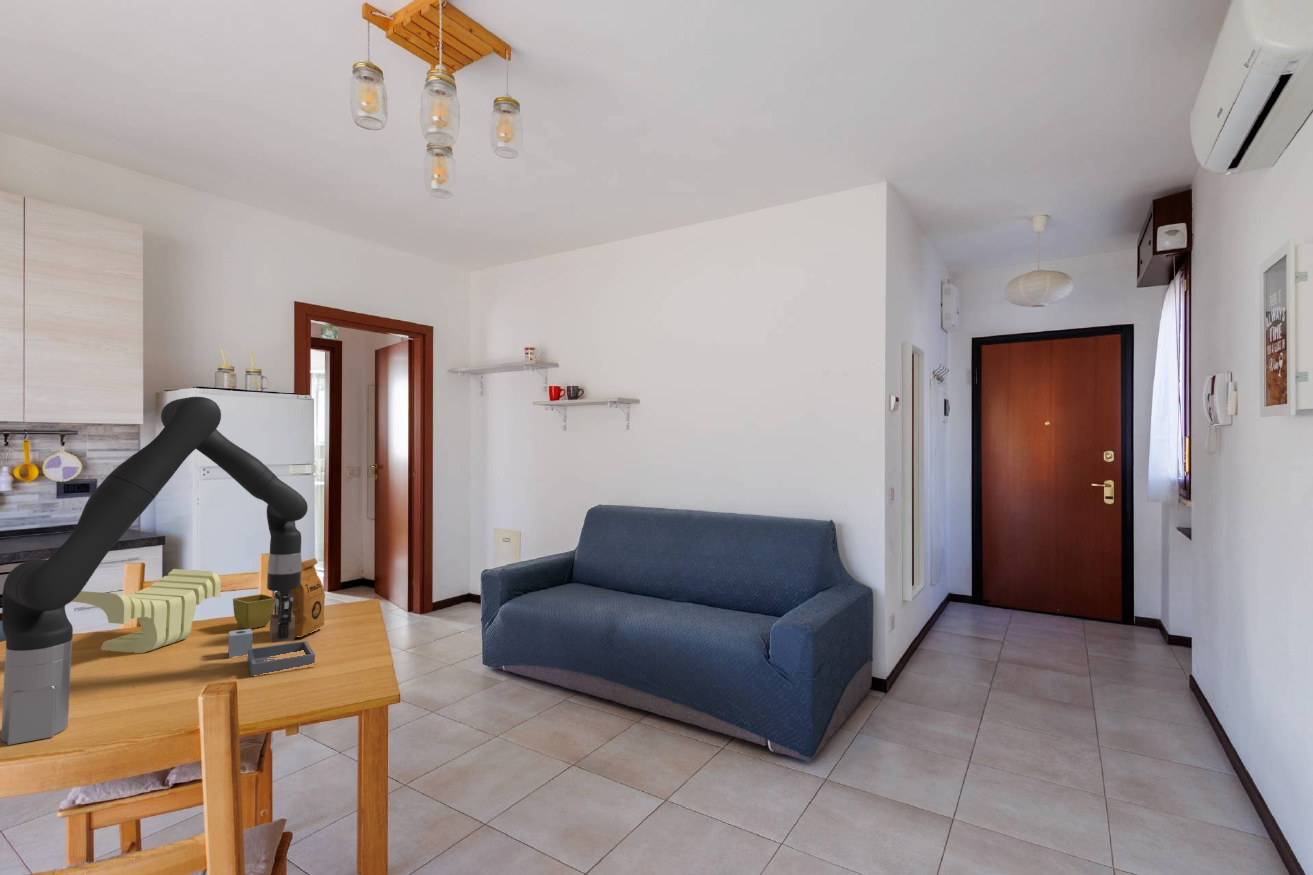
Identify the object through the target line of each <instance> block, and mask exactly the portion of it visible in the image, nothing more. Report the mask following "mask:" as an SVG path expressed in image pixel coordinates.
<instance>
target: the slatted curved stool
mask: <svg viewBox="0 0 1313 875" xmlns="http://www.w3.org/2000/svg"><path fill="white" fill-rule="evenodd" d="M221 588H222V585H221V578H220V577H219V575H218V574H217V573H216V572H214V571H210V570H199V569H198V570H197V569H183V568H182V569H181V568H180V569H179V568H178V569H177V568H173V569H172V570H170V571H169V572H168V574H167V575H164V576H162V577H161V578H160V579H158V581H155V582H154V583H152V584H151V585H150V586H146V587H145V588H143V589H141V590H138V591H136V592H135V591H134V593H129V594H126V595H123V594H120V593H119V594H118V593H114V592H112V593H111V592H99V591H98V592H97V591H84V590H82V591H81V592H80V593H79V594H78V596H77V597H76V598H75V599H73V600H72V601H71V602H70V603H72V602H73V603H80V604H87V605H92V606H94V607H96V608H97V607H98V608H99V609H101V610H103V612H104V613H105V615H106V617H107V620H108V621H107V622H108V624H121V625H125V624H126V623H128V622H130V621H131V620H132V619H133V620H135V619H137V621H138V623H139V624H140V626H141V628H142V630H138V631H134V632H133V633H128V634H125V635H122V636H118V637H116V638H112V639H108V640H105V641H103V643H102V645H101V647H100V649H102V650H101V651H109V650H110V651H111V652H122V653H123V652H124V653H132V652H134V653H135V654H136V653H137V654H143V653H147V652H150V651H153V650H156V649H158V648H159V649H160V648H162V647H165V646H168V645H170V644H173V643H176V642H180V641H182V640H185V639H188V638H189V637H190V635H191V632H192V625H193V622H194V616H195V613H196V611H197V606H200V604H201V603H202V602H204V601H205V599H211V598H214V597H215V598H216V597H217V598H221ZM100 649H99V650H100Z"/></svg>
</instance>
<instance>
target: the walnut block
mask: <svg viewBox="0 0 1313 875" xmlns="http://www.w3.org/2000/svg"><path fill="white" fill-rule="evenodd" d="M284 618H287V615H283V616H282V619H284ZM278 628H279V625H278V616H277V615H276V614H274V613H273V615H271V616H270V621H269V640H270V642H271V643H272V644H273V643H281V642H289V641H295V638H294V632H295V616H294V614H293V612H292V613H291V623H289V633H288V638H286V639H279V638H278Z"/></svg>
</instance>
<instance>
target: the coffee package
mask: <svg viewBox="0 0 1313 875" xmlns="http://www.w3.org/2000/svg"><path fill="white" fill-rule="evenodd" d="M317 564H318V560H317V558H311V559H308V560H304V561H303V560H302V563H301V585H300V587H299V588H297V589H292V590H291V591H290V594H292V596H293V604H292V612H293V614H294V616H295V632H294V637H297V636H304V635H306V634H308V635H310V634H309V633H310V632H312V631H314V630H316V629H317V628H320V627H321V626H323V625H324V626H325V605H326V604H325V602H326V592H325V587H324V585H323V583H322V580H321V579H320V577H319V576H318V573H317V570H316V567H315V565H317ZM324 626H323V627H324ZM306 636H307V635H306ZM304 637H305V636H304Z"/></svg>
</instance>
